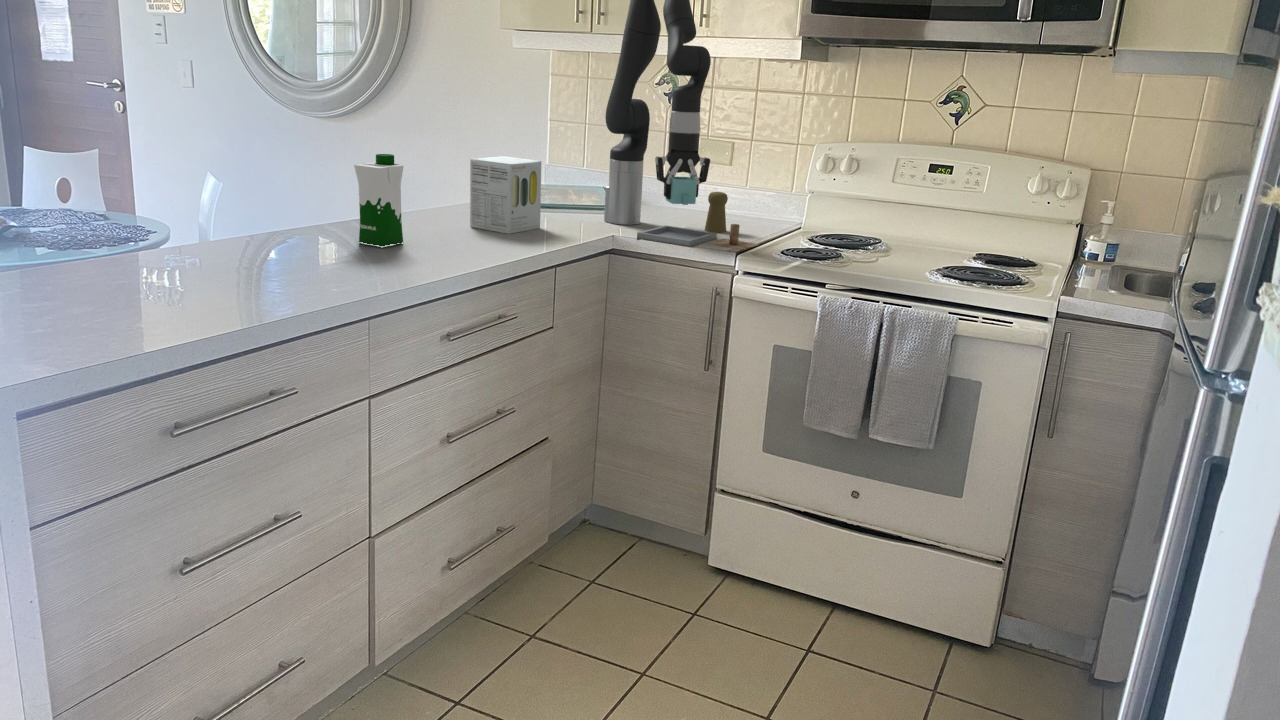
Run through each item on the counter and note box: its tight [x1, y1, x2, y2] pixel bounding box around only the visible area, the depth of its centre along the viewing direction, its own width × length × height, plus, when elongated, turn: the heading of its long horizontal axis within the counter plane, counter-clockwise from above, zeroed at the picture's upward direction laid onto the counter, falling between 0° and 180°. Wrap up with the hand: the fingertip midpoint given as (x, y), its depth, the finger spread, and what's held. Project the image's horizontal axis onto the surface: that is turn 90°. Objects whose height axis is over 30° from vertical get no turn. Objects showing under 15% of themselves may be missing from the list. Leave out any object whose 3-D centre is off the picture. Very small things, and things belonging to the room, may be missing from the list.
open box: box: [665, 176, 697, 206], centre depth 234 cm, size 8×6×6 cm
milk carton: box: [353, 153, 404, 246], centre depth 212 cm, size 9×9×20 cm
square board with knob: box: [707, 223, 760, 251], centre depth 235 cm, size 10×10×6 cm
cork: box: [704, 191, 729, 234], centre depth 251 cm, size 6×6×11 cm
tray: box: [636, 225, 718, 248], centre depth 239 cm, size 15×15×2 cm
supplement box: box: [469, 155, 542, 235], centre depth 241 cm, size 13×13×18 cm
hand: (680, 198), depth 236 cm, fingers closed on open box, 6 cm apart
